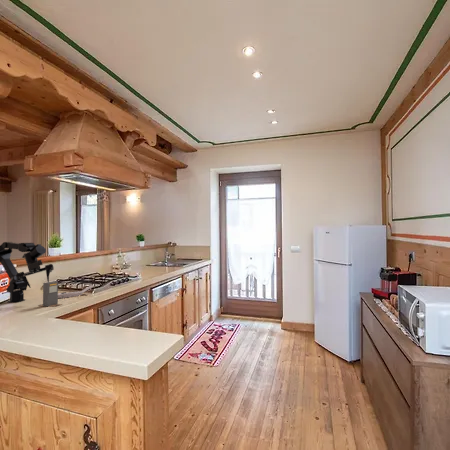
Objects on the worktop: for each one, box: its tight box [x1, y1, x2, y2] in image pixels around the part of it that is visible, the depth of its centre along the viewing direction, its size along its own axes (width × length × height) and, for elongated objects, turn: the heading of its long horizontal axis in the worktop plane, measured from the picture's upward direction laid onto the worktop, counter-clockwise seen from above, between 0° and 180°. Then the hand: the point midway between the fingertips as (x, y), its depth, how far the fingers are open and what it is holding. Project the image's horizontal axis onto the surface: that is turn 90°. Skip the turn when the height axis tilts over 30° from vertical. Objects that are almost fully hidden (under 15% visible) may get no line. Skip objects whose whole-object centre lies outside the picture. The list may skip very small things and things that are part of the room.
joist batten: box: [37, 303, 63, 308], centre depth 155 cm, size 12×5×1 cm, turn 76°
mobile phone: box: [58, 284, 94, 299], centre depth 181 cm, size 6×6×25 cm
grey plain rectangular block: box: [42, 280, 59, 307], centre depth 156 cm, size 4×6×13 cm
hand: (39, 284), depth 161 cm, fingers open, 9 cm apart
